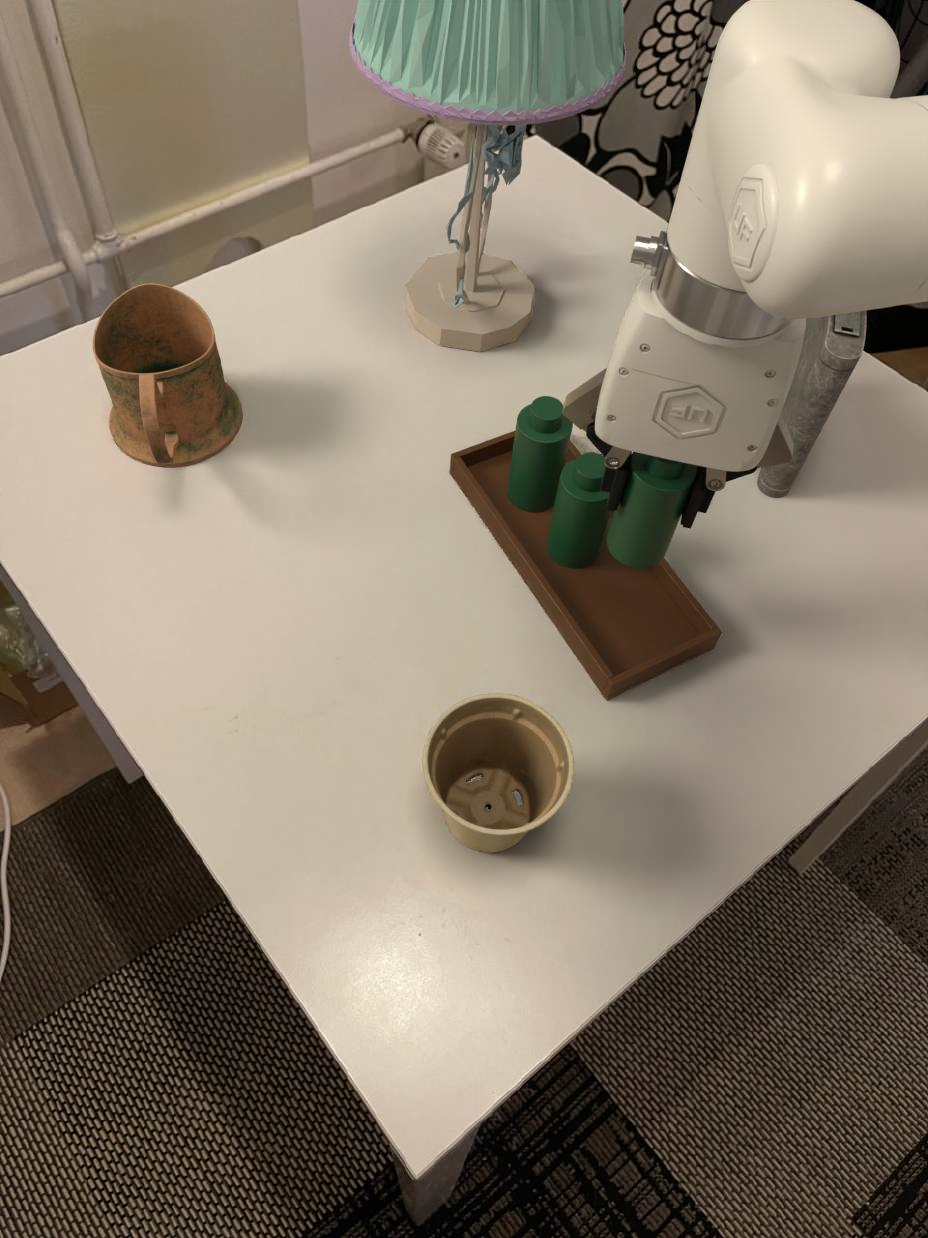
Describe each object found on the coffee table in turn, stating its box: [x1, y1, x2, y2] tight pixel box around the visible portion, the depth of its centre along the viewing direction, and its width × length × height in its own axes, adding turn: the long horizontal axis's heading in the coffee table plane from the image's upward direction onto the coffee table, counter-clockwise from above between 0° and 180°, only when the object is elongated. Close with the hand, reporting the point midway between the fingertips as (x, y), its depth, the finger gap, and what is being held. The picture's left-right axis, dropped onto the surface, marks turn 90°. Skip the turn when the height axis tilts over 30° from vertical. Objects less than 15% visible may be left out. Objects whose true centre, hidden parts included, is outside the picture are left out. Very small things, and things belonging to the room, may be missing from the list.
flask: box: [756, 310, 867, 499], centre depth 77 cm, size 4×14×18 cm, turn 171°
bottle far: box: [507, 395, 574, 512], centre depth 75 cm, size 4×4×10 cm
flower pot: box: [422, 692, 575, 853], centre depth 60 cm, size 9×9×9 cm
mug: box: [92, 282, 243, 468], centre depth 76 cm, size 12×18×12 cm, turn 11°
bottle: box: [606, 451, 698, 568], centre depth 62 cm, size 4×4×10 cm
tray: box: [449, 430, 724, 701], centre depth 75 cm, size 25×10×2 cm, turn 28°
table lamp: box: [348, 0, 628, 353], centre depth 76 cm, size 22×22×40 cm
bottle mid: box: [546, 451, 611, 568], centre depth 72 cm, size 4×4×10 cm
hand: (651, 502), depth 63 cm, fingers closed on bottle, 4 cm apart
